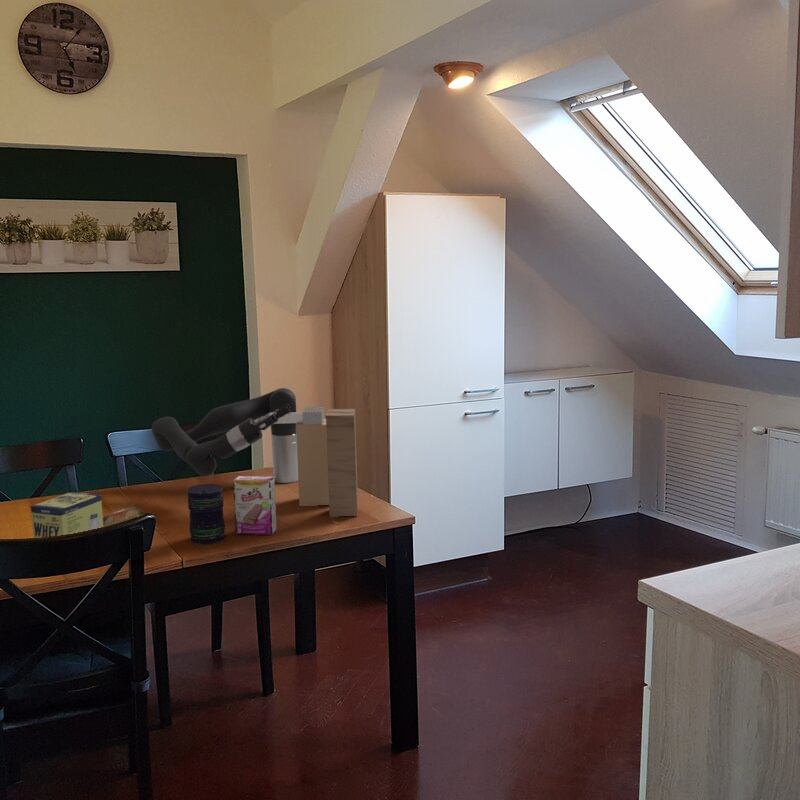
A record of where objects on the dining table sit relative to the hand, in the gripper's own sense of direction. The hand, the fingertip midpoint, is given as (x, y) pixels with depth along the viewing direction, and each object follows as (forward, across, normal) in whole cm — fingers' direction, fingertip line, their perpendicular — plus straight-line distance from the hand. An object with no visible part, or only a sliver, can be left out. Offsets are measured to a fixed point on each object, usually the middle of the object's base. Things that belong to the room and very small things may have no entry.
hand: (288, 407), depth 269 cm
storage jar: (-33, +36, -17) cm, 52 cm away
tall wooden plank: (-1, +14, -36) cm, 38 cm away
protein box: (-64, +46, 0) cm, 79 cm away
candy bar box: (-22, +31, -24) cm, 45 cm away
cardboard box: (-8, 0, -32) cm, 33 cm away
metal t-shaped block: (-1, 0, -5) cm, 5 cm away
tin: (-55, +33, -5) cm, 64 cm away
